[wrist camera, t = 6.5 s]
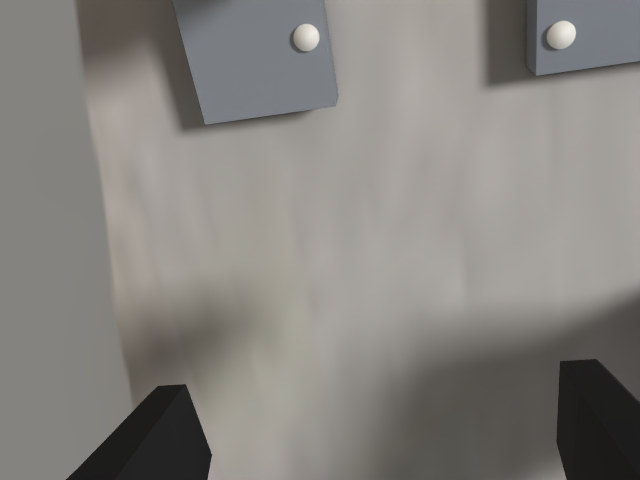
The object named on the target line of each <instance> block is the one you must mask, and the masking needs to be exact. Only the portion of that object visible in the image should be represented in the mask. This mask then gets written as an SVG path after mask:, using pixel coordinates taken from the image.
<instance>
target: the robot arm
mask: <svg viewBox="0 0 640 480" xmlns="http://www.w3.org/2000/svg"><path fill="white" fill-rule="evenodd" d="M557 445H558V449H559V453H560V456H561V460H562V464H563V468H564V471H565V475H566V478H567V480H640V402H639V401H638V400H637V399H636V398H635V397H634V396H633V395H632V394H631V393H630V392H629V391H628V390H627V389H626V388H625V387H624V386H623V385H622V384H621V383H620V382H619V381H618V380H617V379H616V378H615V377H614V376H613V375H612V374H611V373H610V372H609V371H608V370H607V369H606V368H605V367H604V366H603V365H602V364H601V363H600V362H599V361H598V360H596V359H591V360H575V361H560V376H559V398H558V420H557ZM211 457H212V454H211V451H210V448H209V446H208V443H207V440H206V438H205V435H204V432H203V429H202V427H201V424H200V421H199V419H198V416H197V413H196V410H195V408H194V405H193V402H192V400H191V397H190V394H189V391H188V389H187V386H186V384H184V385H167V386H158V387H157V388H155V389H154V390H153V391H152V392H151V393H150V394H149V395H148V396H147V397H146V398H145V399H144V400H143V401H142V402H141V403H140V405H139V406H138V407H137V408H136V409H135V410H134V411H133V412H132V413H131V414H130V415H129V416H128V417H127V418H126V419H125V420H124V421H123V422H122V423H121V424H120V425H119V427H118V428H117V429H116V430H115V431H114V432H113V433H112V434H111V435H110V436H109V437H108V438H107V439H106V440H105V441H104V442H103V443H102V444H101V445H100V446H99V447H98V448H97V449H96V450H95V451H94V452H93V453H92V454H91V455H90V456H89V457H88V458H87V460H86V461H84V462H83V464H82V465H81V466H80V467H79V468H78V469H77V470H76V471H75V472H74V473H73V474H71V475H70V476H69V477H68V478H67V479H66V480H207V479H208V473H209V468H210V462H211Z"/></svg>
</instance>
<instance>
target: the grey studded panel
mask: <svg viewBox="0 0 640 480" xmlns="http://www.w3.org/2000/svg"><path fill="white" fill-rule="evenodd" d="M636 61H640V0H527V21H526V67H527V68H528V69H529V70H530V71H531V72H533V73H534V74H535V75H536V76H538V75H545V74H552V73H559V72H566V71H573V70H580V69H587V68H594V67H601V66H608V65H615V64H622V63H629V62H636Z"/></svg>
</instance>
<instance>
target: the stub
mask: <svg viewBox="0 0 640 480" xmlns="http://www.w3.org/2000/svg"><path fill="white" fill-rule="evenodd" d="M172 3H173V7H174V11H175V15H176V18H177V22H178V26H179V29H180V33H181V37H182V41H183V44H184V48H185V52H186V55H187V59H188V63H189V66H190V70H191V74H192V78H193V81H194V85H195V89H196V92H197V96H198V100H199V104H200V107H201V111H202V115H203V118H204V122H205V125H207V124H214V123H221V122H228V121H235V120H242V119H249V118H256V117H263V116H270V115H277V114H284V113H291V112H298V111H305V110H312V109H319V108H326V107H333V106H336V103H337V100H338V89H337V83H336V76H335V69H334V63H333V56H332V50H331V43H330V36H329V30H328V23H327V17H326V10H325V3H324V0H172Z"/></svg>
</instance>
